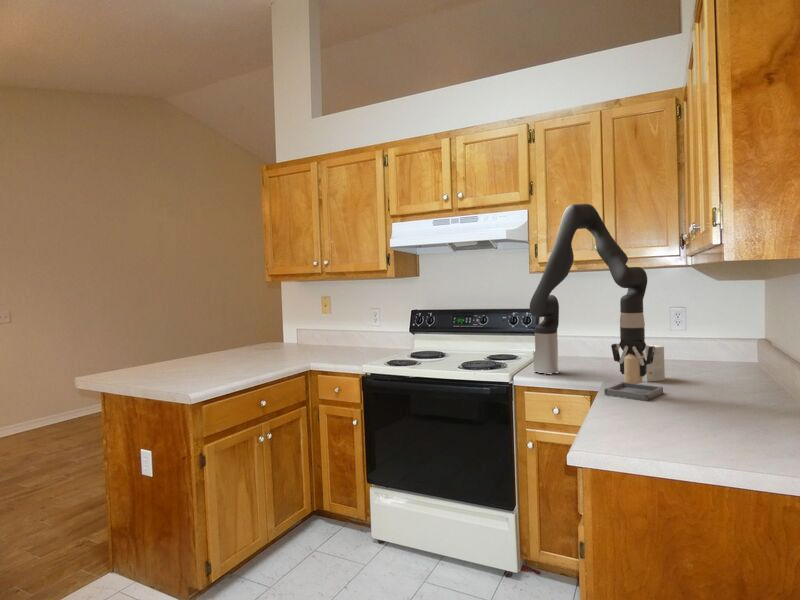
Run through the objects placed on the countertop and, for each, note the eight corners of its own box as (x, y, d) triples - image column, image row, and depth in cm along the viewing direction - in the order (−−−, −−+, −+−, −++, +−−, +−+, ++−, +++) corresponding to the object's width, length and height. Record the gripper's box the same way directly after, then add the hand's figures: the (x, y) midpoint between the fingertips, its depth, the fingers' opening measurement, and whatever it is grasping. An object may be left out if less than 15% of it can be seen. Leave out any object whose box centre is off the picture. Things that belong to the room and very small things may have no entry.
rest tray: (604, 394, 166) (604, 389, 166) (621, 387, 176) (621, 382, 176) (647, 401, 156) (647, 394, 156) (663, 392, 166) (663, 387, 166)
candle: (632, 384, 163) (631, 354, 162) (620, 381, 168) (620, 352, 168) (646, 383, 164) (645, 353, 164) (634, 380, 169) (633, 351, 169)
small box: (652, 377, 191) (652, 344, 190) (665, 380, 185) (664, 346, 184) (635, 379, 189) (634, 345, 188) (647, 382, 183) (646, 347, 182)
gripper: (606, 326, 168) (607, 374, 169) (650, 327, 157) (651, 379, 158) (615, 324, 173) (616, 371, 174) (658, 325, 163) (659, 375, 163)
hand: (633, 374), depth 166 cm, fingers closed on candle, 5 cm apart
